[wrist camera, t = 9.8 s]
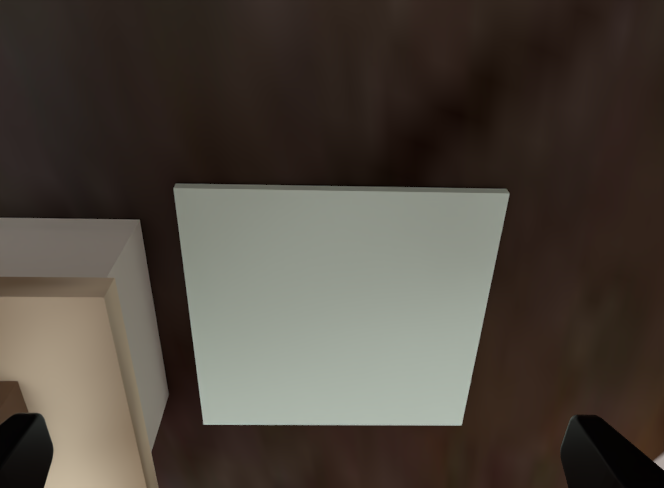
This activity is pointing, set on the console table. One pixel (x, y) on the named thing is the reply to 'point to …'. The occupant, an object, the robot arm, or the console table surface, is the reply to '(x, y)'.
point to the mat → (336, 300)
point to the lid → (75, 379)
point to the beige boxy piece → (101, 262)
